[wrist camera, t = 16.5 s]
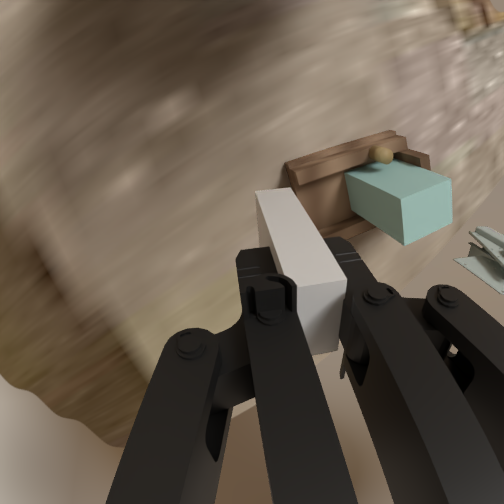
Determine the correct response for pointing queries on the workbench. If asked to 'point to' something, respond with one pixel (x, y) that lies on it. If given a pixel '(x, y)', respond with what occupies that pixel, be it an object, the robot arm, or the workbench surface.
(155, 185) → the workbench surface
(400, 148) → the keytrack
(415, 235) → the mint green box
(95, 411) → the workbench surface
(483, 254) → the bracket
